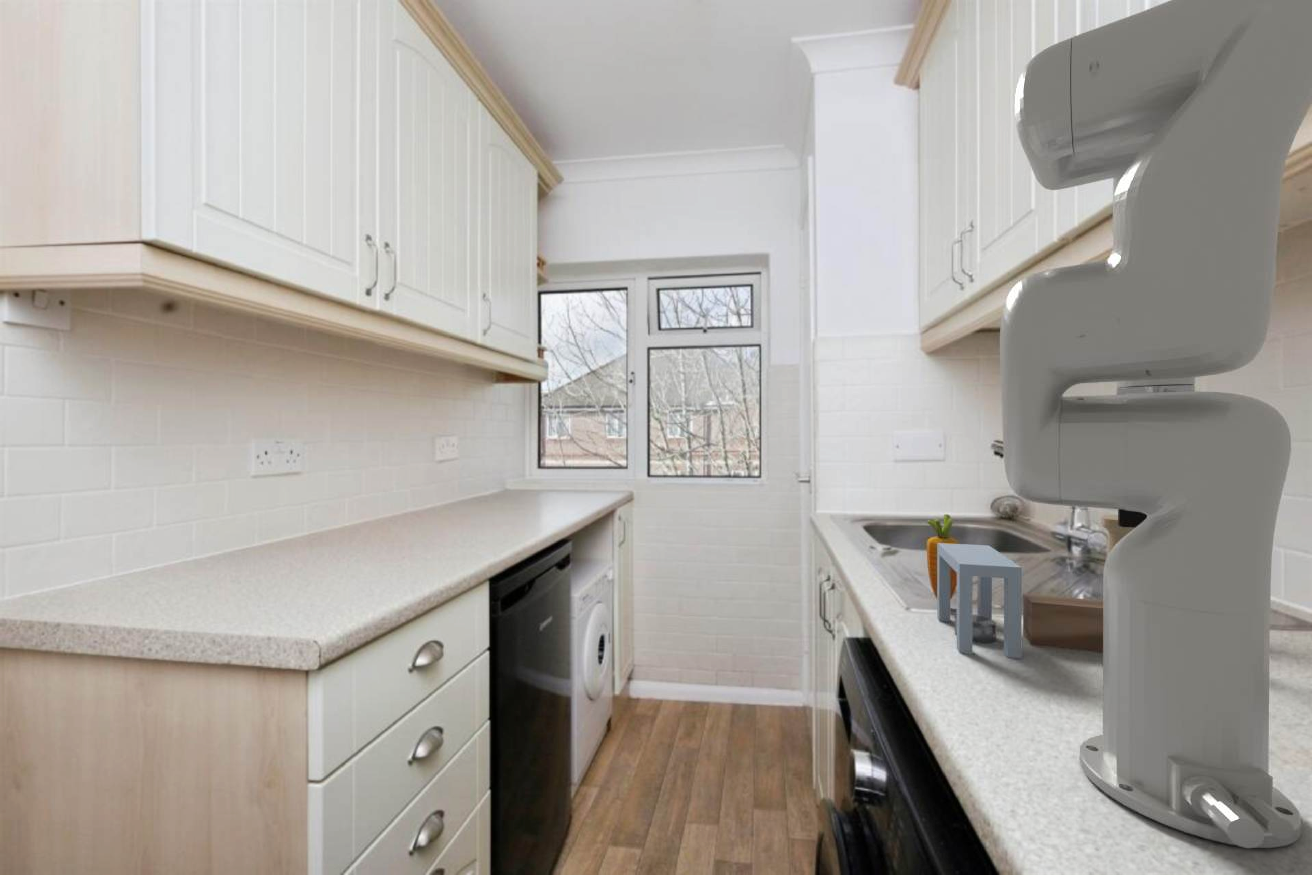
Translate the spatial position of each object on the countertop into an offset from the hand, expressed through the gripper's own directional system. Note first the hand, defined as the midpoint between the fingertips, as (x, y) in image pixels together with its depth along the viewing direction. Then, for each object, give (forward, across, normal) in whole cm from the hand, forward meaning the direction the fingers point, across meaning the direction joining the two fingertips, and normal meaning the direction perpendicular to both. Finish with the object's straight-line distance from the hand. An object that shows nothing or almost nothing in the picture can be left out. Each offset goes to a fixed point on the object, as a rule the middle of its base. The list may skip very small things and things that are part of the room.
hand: (1153, 533), depth 72 cm
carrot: (+16, +12, +22) cm, 30 cm away
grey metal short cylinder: (+15, 0, +21) cm, 26 cm away
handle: (+16, +16, -4) cm, 23 cm away
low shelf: (+15, 0, +21) cm, 26 cm away
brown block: (+16, 0, +5) cm, 16 cm away
